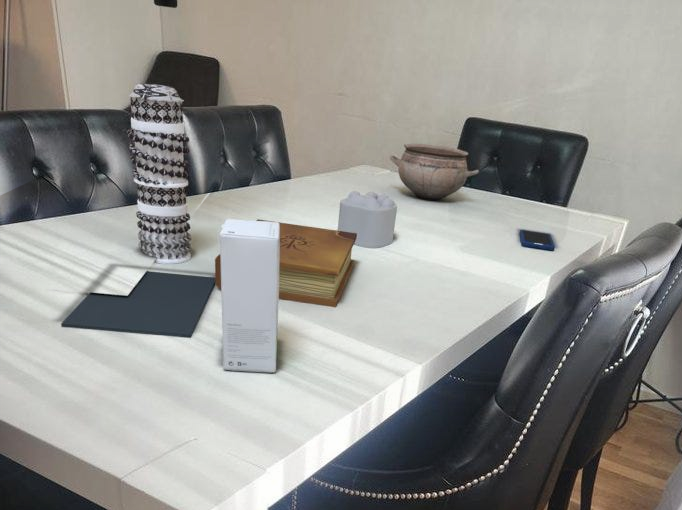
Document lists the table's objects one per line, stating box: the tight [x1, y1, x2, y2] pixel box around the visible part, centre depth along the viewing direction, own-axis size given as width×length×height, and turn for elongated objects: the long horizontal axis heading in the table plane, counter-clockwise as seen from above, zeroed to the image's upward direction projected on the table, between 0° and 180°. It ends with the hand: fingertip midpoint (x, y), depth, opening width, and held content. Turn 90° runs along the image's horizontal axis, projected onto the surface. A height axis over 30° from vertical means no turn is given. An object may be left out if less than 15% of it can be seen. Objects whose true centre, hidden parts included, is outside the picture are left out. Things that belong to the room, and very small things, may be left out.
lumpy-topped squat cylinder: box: [337, 190, 398, 249], centre depth 133 cm, size 10×13×9 cm
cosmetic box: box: [219, 218, 280, 373], centre depth 75 cm, size 8×7×16 cm
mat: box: [60, 270, 216, 338], centre depth 92 cm, size 16×24×1 cm, turn 2°
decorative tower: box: [126, 83, 192, 265], centre depth 103 cm, size 9×9×25 cm
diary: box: [214, 218, 357, 308], centre depth 107 cm, size 23×19×6 cm
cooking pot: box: [389, 143, 480, 201], centre depth 177 cm, size 25×19×12 cm
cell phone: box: [519, 229, 556, 251], centre depth 149 cm, size 7×14×1 cm, turn 171°
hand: (165, 6), depth 99 cm, fingers closed
